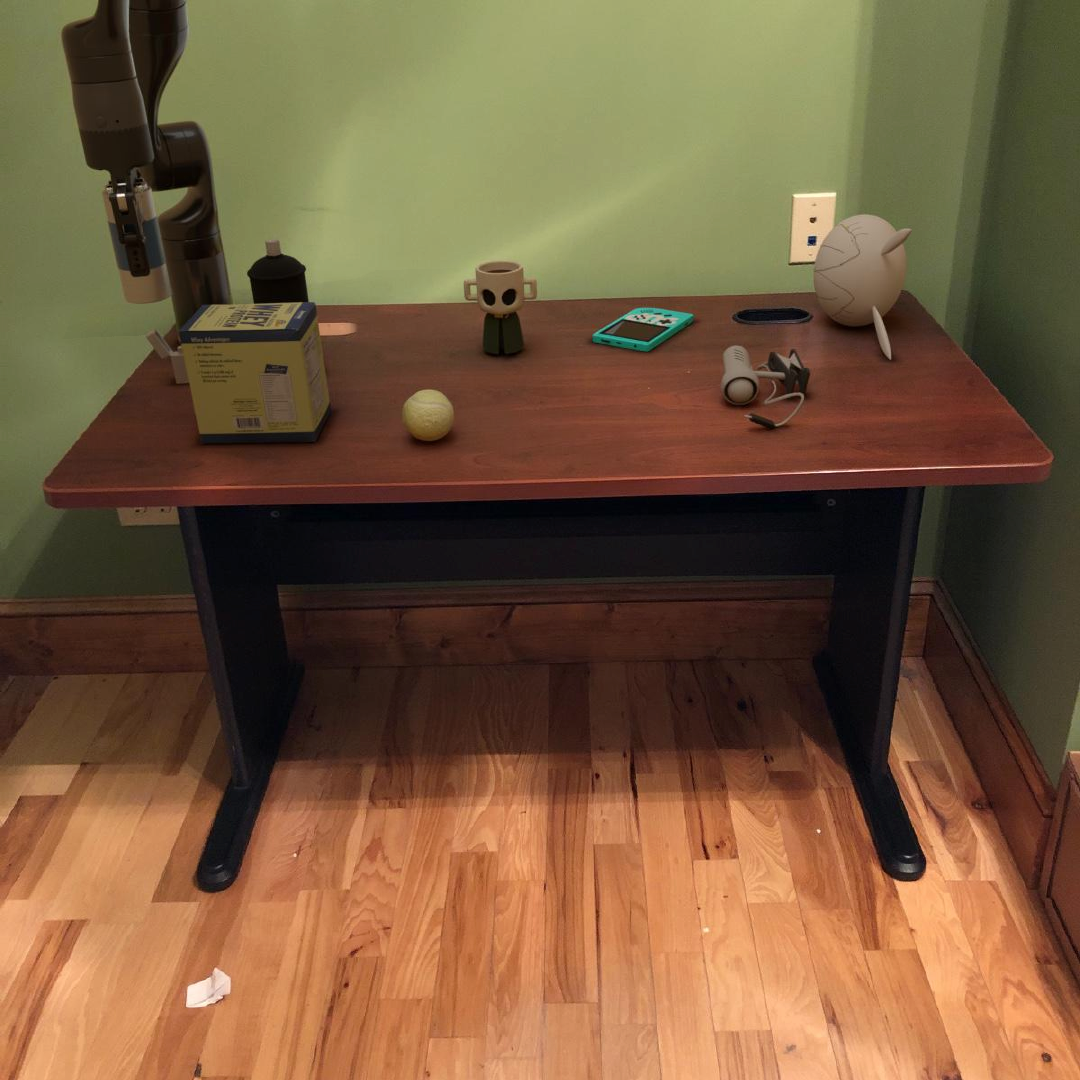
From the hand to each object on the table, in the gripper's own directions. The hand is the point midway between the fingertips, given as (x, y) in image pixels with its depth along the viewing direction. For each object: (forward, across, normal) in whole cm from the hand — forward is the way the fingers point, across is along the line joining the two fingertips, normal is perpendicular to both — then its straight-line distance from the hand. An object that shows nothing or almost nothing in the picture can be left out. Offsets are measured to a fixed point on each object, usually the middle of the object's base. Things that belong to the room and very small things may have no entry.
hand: (142, 267), depth 138 cm
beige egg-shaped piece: (+23, +10, -102) cm, 105 cm away
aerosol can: (+24, +20, -16) cm, 34 cm away
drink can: (+4, 0, 0) cm, 4 cm away
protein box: (+23, +1, -11) cm, 26 cm away
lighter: (+24, +23, 0) cm, 33 cm away
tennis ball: (+23, -9, -32) cm, 40 cm away
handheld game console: (+23, +21, -71) cm, 77 cm away
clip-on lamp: (+23, -12, -77) cm, 81 cm away
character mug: (+23, +20, -48) cm, 57 cm away
